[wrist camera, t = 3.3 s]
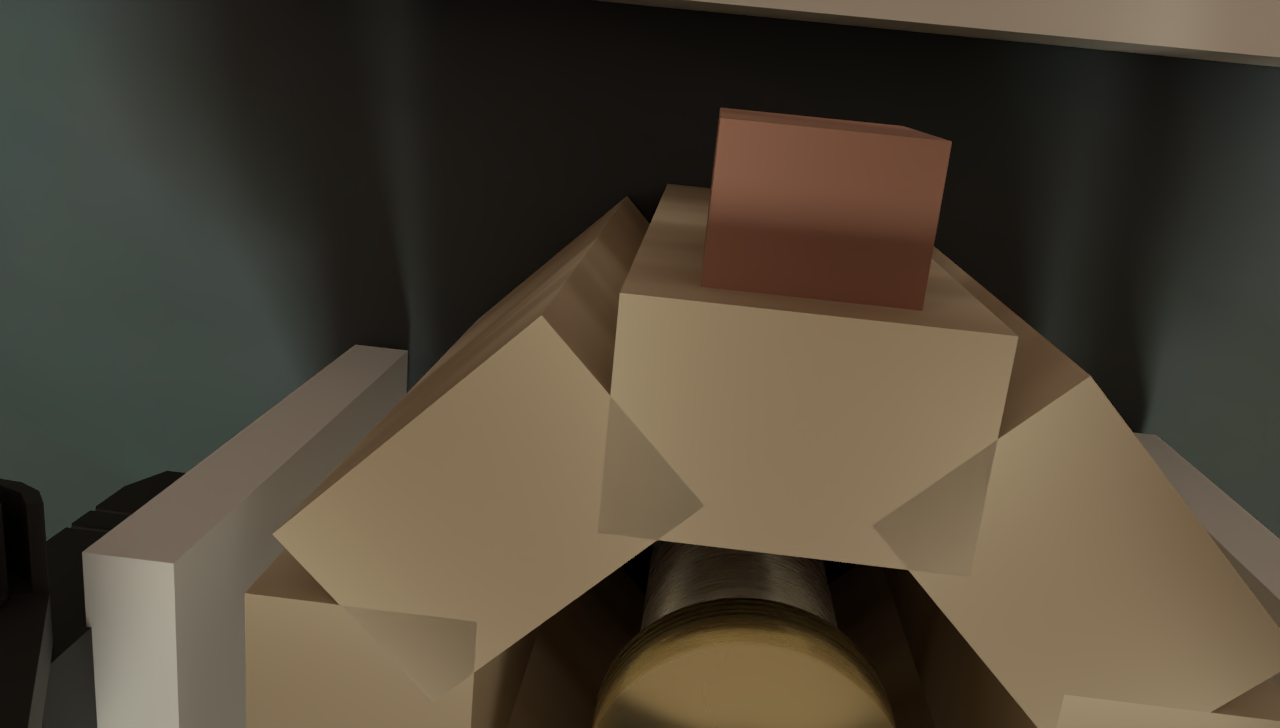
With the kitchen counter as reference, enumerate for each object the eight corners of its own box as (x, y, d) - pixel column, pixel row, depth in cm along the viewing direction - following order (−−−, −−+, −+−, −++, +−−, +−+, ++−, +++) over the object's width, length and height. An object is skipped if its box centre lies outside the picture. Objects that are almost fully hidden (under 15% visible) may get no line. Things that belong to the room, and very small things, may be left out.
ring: (444, 683, 16) (250, 1120, 9) (475, 69, 14) (238, 72, 7) (964, 749, 16) (1144, 1250, 9) (1094, 132, 13) (1481, 199, 7)
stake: (633, 546, 15) (572, 901, 9) (651, 377, 15) (597, 629, 8) (810, 567, 15) (880, 944, 9) (837, 398, 14) (934, 670, 8)
